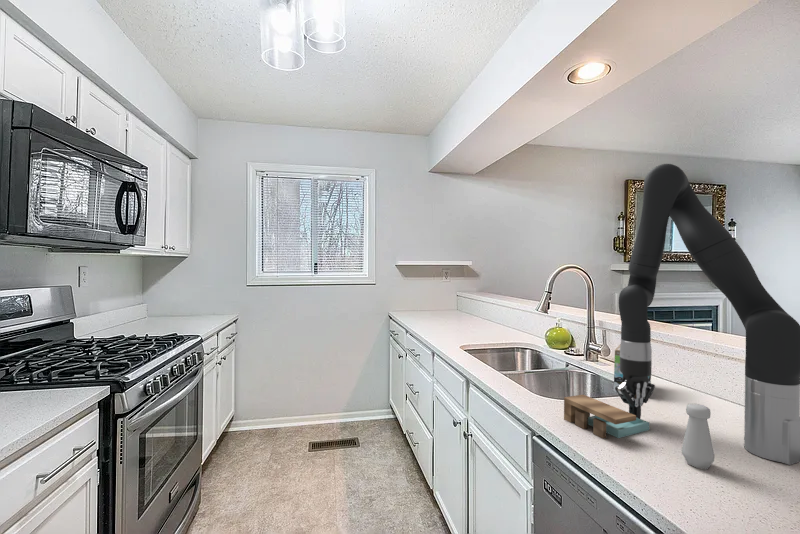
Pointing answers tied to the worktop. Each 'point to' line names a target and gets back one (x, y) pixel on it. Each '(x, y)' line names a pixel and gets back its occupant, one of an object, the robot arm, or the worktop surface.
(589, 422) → the tray
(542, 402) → the worktop surface
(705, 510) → the worktop surface
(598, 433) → the shelf
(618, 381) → the tea box
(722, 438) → the worktop surface
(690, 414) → the salt shaker
